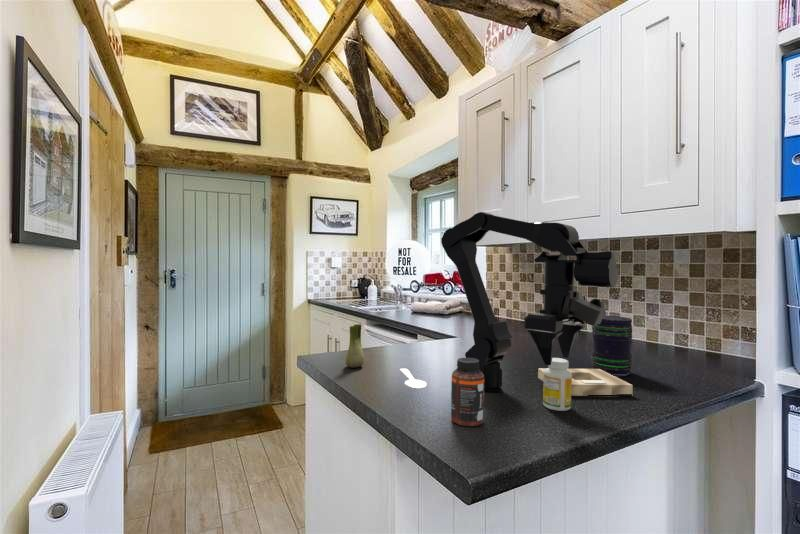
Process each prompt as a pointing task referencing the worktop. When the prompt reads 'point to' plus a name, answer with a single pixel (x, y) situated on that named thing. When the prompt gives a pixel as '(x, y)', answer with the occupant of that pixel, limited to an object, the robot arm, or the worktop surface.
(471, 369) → the supplement bottle
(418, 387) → the spoon
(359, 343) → the fennel bulb
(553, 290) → the robot arm
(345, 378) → the worktop surface
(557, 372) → the supplement bottle
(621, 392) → the wooden frame
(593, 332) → the storage jar
